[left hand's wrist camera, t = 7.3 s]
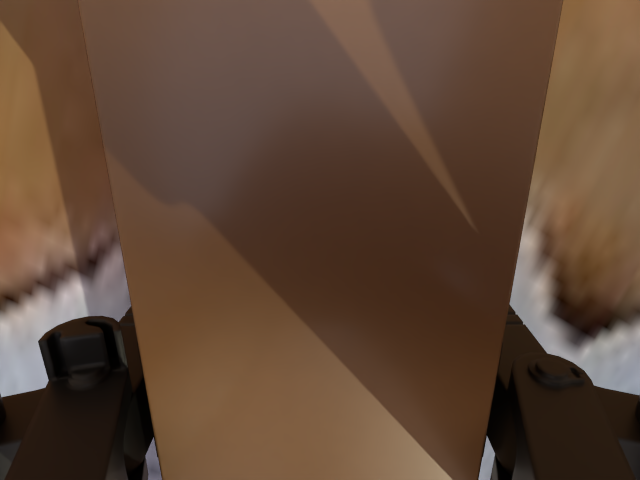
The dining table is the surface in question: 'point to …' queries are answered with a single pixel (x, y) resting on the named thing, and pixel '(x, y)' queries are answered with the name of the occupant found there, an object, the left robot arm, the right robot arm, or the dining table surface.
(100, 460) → the left robot arm
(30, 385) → the dining table surface
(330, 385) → the beam
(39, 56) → the dining table surface
